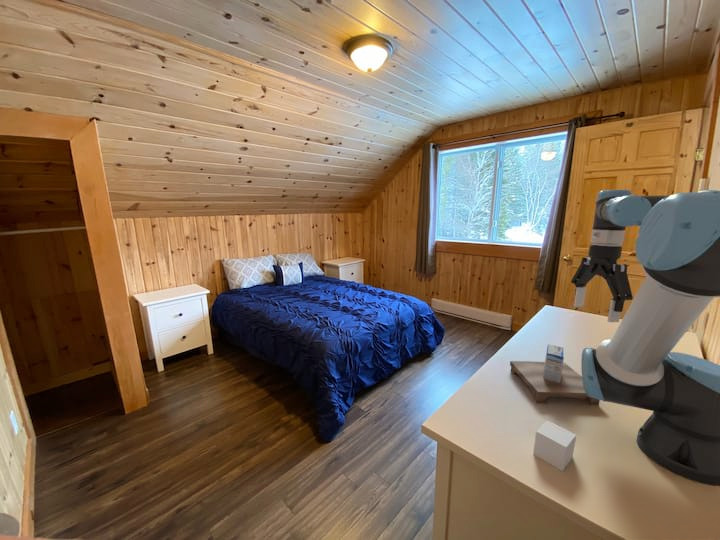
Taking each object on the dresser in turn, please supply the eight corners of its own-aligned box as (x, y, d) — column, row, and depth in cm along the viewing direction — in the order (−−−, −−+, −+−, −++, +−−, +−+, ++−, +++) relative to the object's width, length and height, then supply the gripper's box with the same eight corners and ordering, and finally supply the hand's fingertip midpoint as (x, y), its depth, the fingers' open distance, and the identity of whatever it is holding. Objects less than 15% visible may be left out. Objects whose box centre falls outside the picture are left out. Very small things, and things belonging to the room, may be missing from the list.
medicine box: (544, 368, 100) (547, 343, 99) (560, 372, 98) (563, 346, 96) (543, 379, 94) (546, 353, 92) (560, 383, 91) (564, 356, 90)
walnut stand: (600, 406, 87) (602, 393, 87) (536, 404, 88) (538, 391, 87) (562, 373, 105) (564, 362, 104) (509, 371, 106) (510, 361, 105)
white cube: (572, 457, 69) (576, 434, 68) (562, 471, 66) (566, 447, 64) (543, 442, 74) (547, 420, 73) (533, 453, 70) (536, 431, 69)
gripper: (564, 240, 101) (556, 301, 105) (631, 250, 77) (617, 329, 81) (586, 240, 101) (577, 301, 106) (660, 250, 77) (644, 329, 81)
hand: (594, 313), depth 93 cm, fingers open, 13 cm apart
